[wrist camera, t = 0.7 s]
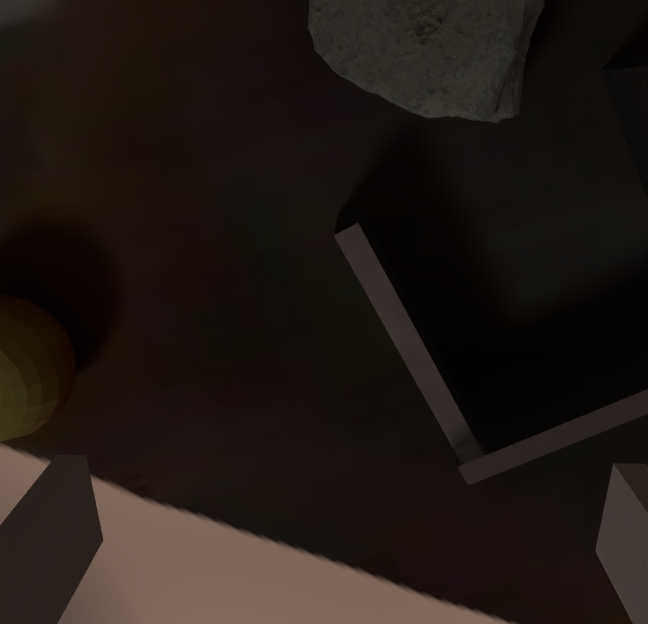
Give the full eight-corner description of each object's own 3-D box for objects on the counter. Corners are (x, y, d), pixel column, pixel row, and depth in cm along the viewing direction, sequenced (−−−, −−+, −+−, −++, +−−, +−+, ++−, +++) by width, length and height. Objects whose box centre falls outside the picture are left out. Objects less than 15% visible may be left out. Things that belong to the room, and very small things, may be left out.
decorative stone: (585, 38, 32) (613, -126, 23) (484, 198, 32) (472, 95, 23) (396, -21, 37) (357, -175, 28) (307, 116, 37) (239, 5, 28)
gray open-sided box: (337, 214, 37) (332, 244, 29) (626, 56, 33) (705, 46, 25) (448, 415, 42) (468, 485, 34) (712, 301, 38) (799, 352, 30)
